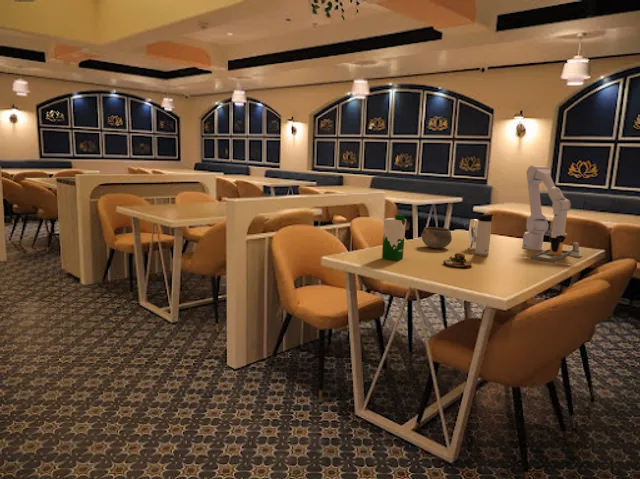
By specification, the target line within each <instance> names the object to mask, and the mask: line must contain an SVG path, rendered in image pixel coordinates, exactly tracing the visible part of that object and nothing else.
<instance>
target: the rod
mask: <svg viewBox="0 0 640 479" xmlns="http://www.w3.org/2000/svg"><path fill="white" fill-rule="evenodd" d="M579 247H580V242H576V241H575V242H573V243H572V251H576V252H578V250H579ZM579 251H580V250H579Z"/></svg>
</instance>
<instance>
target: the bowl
mask: <svg viewBox="0 0 640 479" xmlns="http://www.w3.org/2000/svg"><path fill="white" fill-rule="evenodd" d="M420 237H421V240H422V242H423V243H424V245H425V246H426V247H428V248H431V249H439V250H440V249H444V248H446V247H447V246H448V245H450V243H451V242H452V241H453V239H452V238H453V236H452V232H451V230H450V229H449V228H446V227H437V226H436V227H435V226H426V227H424V228H423V230H422V232H421V234H420Z"/></svg>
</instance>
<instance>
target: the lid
mask: <svg viewBox="0 0 640 479" xmlns="http://www.w3.org/2000/svg"><path fill="white" fill-rule="evenodd" d="M561 257H562V256H547V254H542V255H541V253H540V252H538V253H535V254H533V255H531V260H535V261H540V262H548V263H556V262H557V261H558V260H560V259H562V258H561Z"/></svg>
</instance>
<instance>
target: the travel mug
mask: <svg viewBox="0 0 640 479" xmlns="http://www.w3.org/2000/svg"><path fill="white" fill-rule="evenodd" d="M493 217H494V214H493V213H491V214H479V215H478V227H477V237H476V247H475V250H474V255H475V256H480V257H488V256H489V252H490V242H491V231H492V221H493V220H492V219H493Z"/></svg>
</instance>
